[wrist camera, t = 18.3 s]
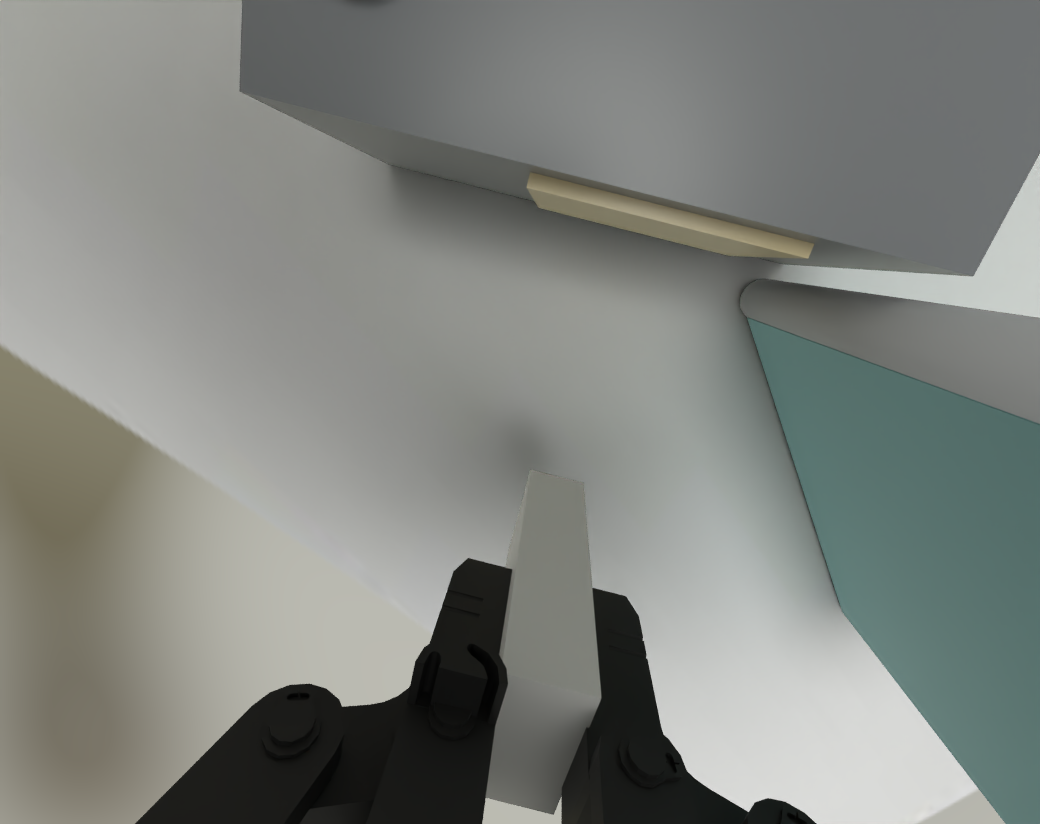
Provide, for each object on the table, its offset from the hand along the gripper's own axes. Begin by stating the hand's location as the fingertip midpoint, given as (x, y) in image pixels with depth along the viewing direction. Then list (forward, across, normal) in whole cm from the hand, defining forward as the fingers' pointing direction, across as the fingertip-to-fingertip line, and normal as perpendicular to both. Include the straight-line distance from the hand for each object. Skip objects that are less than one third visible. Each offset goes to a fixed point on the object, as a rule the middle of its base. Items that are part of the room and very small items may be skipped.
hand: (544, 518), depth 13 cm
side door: (+6, +10, +2) cm, 12 cm away
